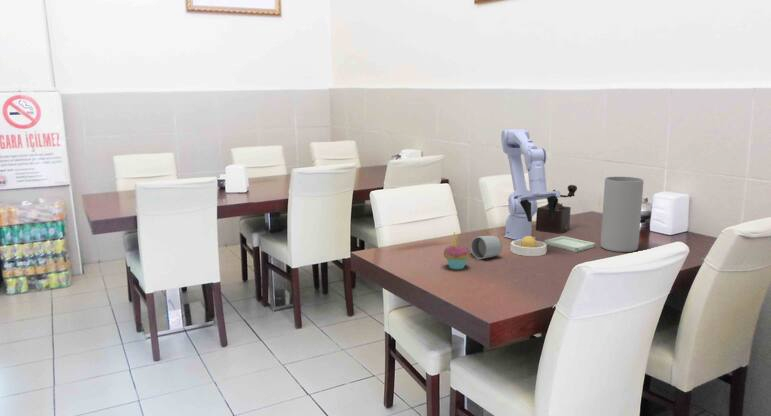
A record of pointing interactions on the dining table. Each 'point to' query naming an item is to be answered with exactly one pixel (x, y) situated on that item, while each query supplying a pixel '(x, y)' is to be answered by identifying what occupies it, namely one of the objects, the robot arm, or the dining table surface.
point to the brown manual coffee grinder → (555, 216)
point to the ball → (529, 242)
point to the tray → (569, 243)
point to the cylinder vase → (621, 213)
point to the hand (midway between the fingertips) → (540, 220)
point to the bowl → (525, 251)
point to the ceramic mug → (486, 247)
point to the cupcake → (456, 255)
